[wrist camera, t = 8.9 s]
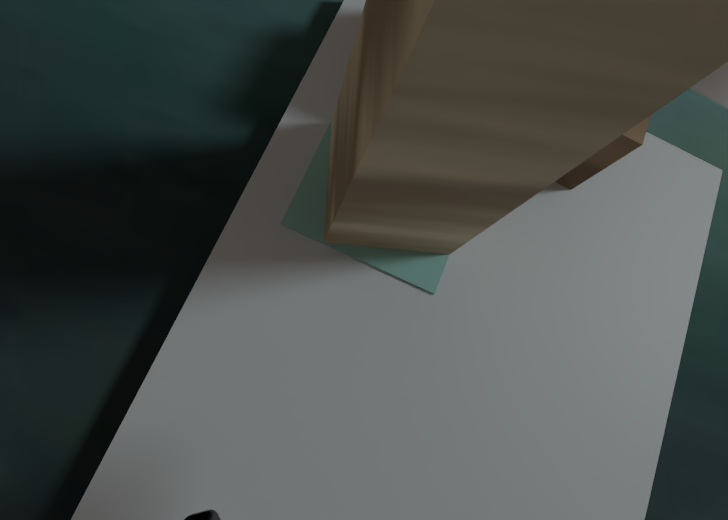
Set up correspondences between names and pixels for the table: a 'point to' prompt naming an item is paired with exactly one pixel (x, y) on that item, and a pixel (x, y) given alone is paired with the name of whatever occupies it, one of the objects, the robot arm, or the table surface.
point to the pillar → (495, 105)
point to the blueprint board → (418, 350)
